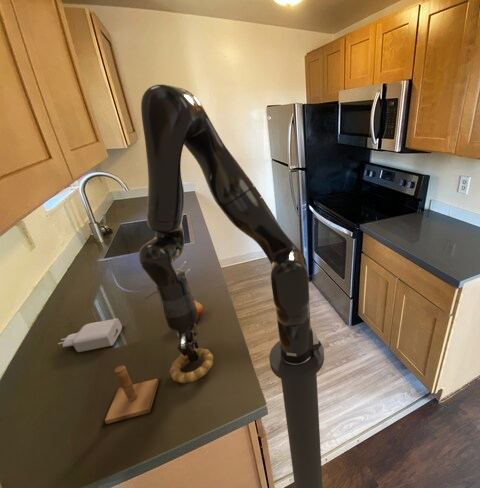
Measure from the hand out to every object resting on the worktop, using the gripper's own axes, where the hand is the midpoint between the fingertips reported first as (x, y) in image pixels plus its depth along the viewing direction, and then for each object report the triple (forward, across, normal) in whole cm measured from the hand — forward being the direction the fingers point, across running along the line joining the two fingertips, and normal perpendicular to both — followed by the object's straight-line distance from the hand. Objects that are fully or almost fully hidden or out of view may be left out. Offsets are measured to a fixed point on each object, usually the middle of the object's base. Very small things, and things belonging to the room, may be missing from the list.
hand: (194, 355), depth 80 cm
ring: (-1, -4, 0) cm, 4 cm away
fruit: (+2, +21, +3) cm, 21 cm away
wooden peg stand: (+1, -9, +13) cm, 16 cm away
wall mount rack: (+2, +52, +14) cm, 54 cm away
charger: (+1, +19, +33) cm, 38 cm away
